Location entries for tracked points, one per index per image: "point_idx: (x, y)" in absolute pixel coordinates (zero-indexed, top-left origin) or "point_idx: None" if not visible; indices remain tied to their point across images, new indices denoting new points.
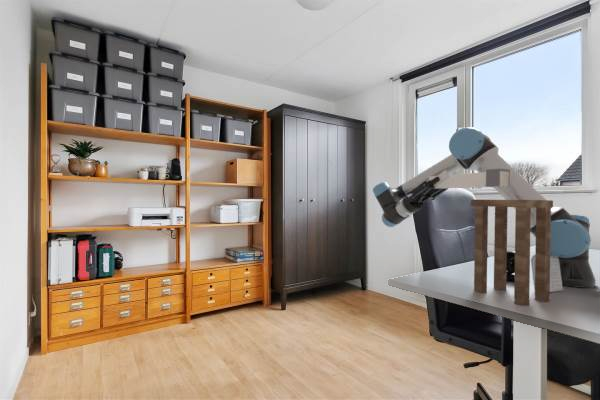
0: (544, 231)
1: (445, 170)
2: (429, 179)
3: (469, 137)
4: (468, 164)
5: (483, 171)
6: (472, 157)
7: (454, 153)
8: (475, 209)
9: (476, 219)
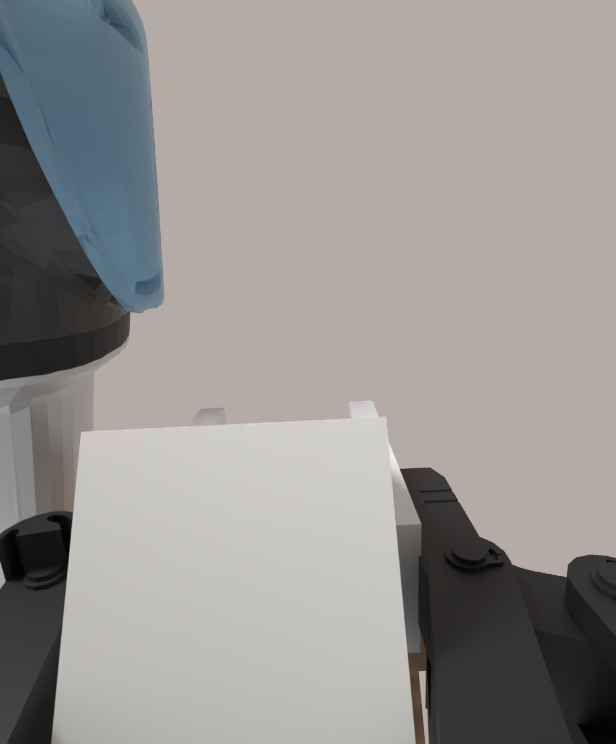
0: None
1: (363, 404)
2: (392, 514)
3: (155, 164)
4: (62, 348)
5: (64, 440)
6: (123, 314)
7: (156, 199)
8: (418, 681)
9: (423, 742)
